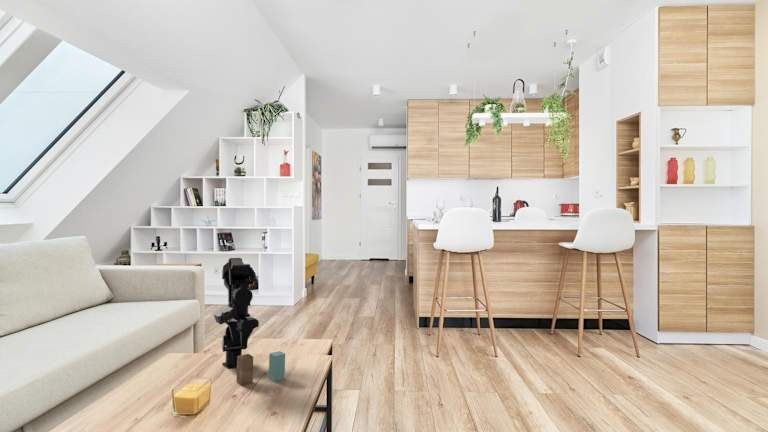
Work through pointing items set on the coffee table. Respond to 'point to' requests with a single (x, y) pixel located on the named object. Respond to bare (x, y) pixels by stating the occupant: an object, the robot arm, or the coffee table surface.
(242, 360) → the walnut block
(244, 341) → the robot arm
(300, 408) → the coffee table surface
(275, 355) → the teal block
